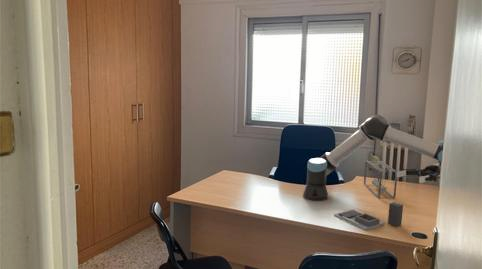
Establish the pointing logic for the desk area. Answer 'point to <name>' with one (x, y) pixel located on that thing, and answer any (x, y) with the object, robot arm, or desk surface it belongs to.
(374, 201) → the desk surface
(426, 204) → the desk surface
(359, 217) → the charging dock
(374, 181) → the newton's cradle
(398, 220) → the brick
